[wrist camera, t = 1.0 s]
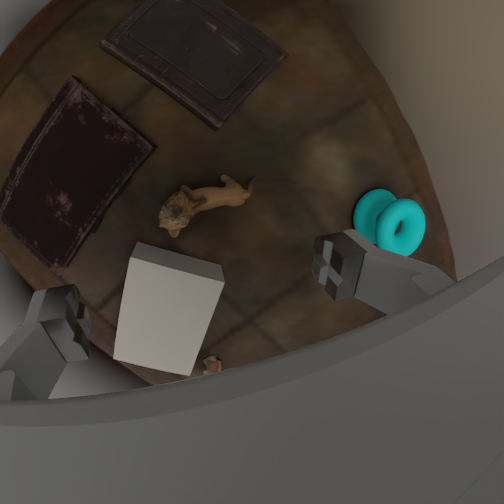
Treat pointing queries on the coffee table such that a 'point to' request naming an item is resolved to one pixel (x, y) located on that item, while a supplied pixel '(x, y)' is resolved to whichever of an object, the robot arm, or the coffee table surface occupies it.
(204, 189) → the lion figurine
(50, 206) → the diary
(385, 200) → the donuts
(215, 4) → the hardcover book
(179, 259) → the pedestal
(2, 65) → the coffee table surface
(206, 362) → the grandmother figurine
